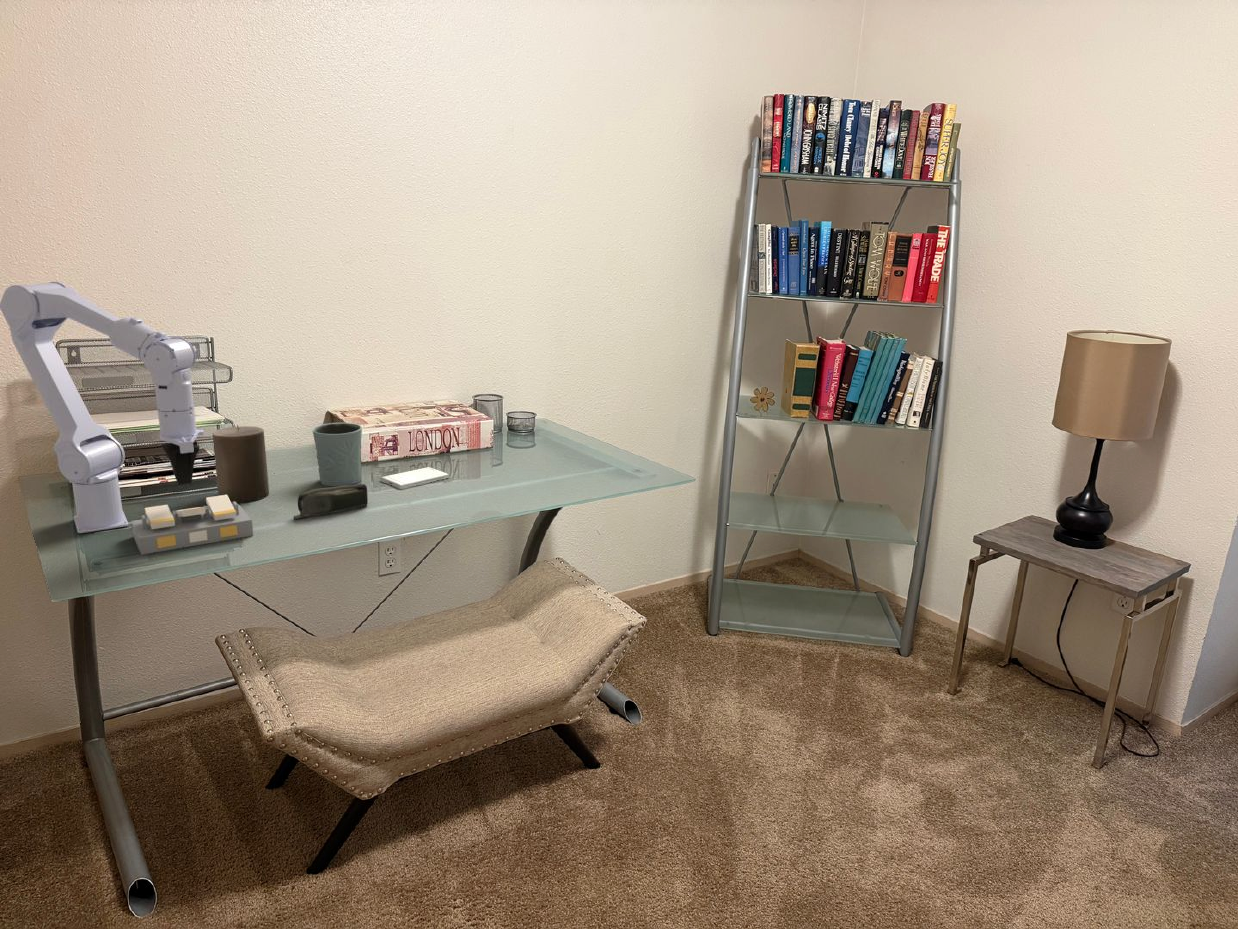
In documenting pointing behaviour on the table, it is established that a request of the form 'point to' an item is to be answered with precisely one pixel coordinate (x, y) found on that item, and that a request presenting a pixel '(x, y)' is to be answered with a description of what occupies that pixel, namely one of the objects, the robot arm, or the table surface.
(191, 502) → the table surface
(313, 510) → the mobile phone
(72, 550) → the table surface
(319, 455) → the grey green cup
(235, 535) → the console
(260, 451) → the pillar candle
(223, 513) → the rocker
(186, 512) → the rocker
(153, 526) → the block
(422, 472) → the hard drive
